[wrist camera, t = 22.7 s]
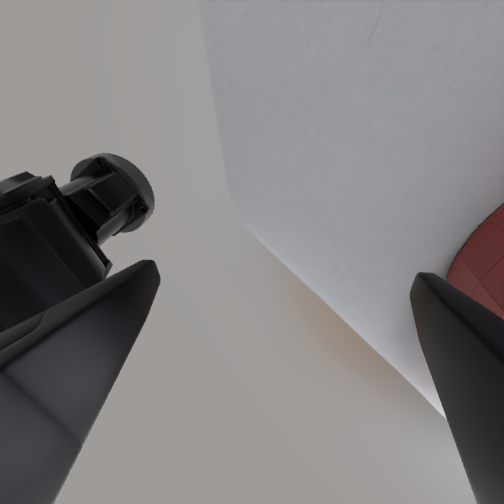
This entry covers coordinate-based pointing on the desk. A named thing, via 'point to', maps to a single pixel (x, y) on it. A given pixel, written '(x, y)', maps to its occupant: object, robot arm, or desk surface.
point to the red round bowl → (483, 265)
